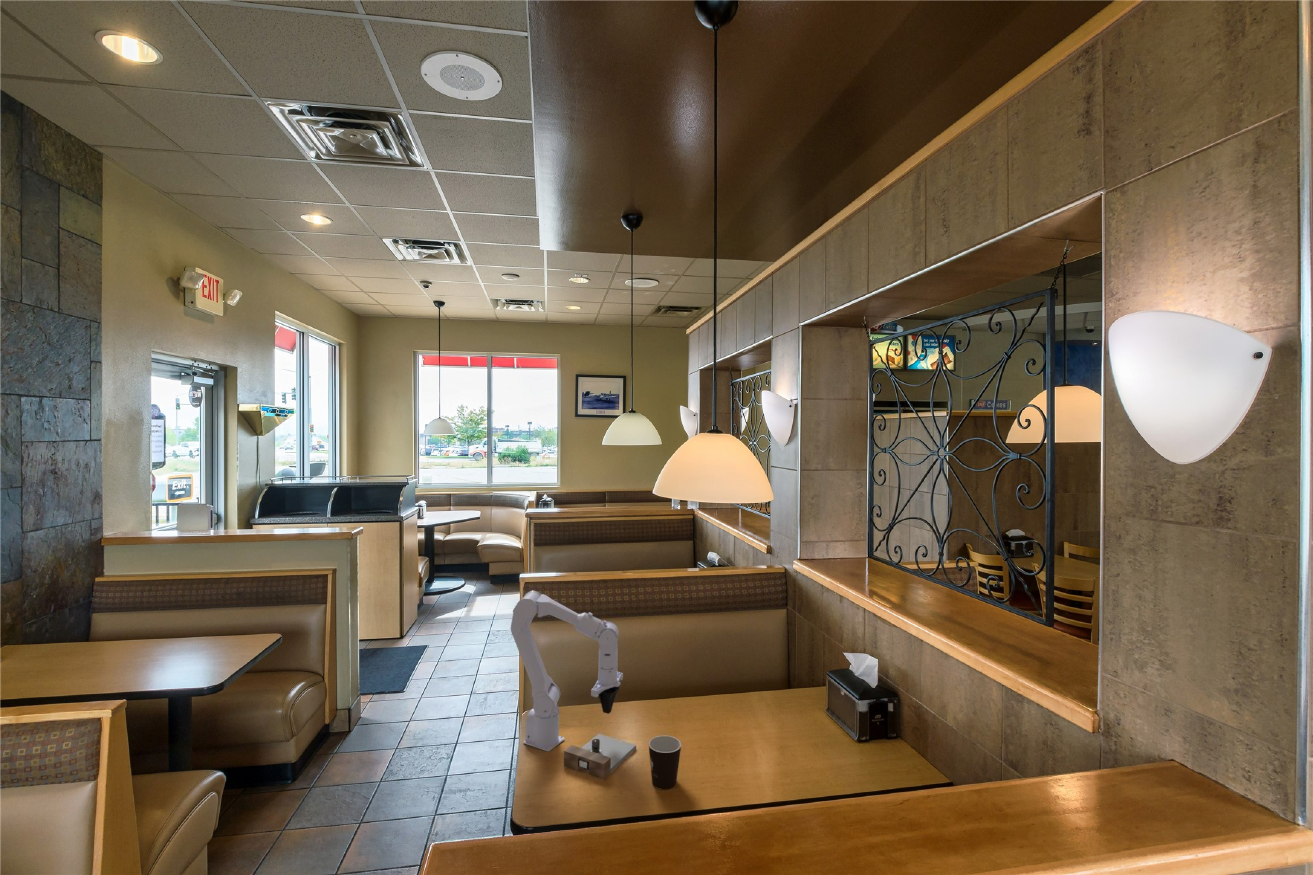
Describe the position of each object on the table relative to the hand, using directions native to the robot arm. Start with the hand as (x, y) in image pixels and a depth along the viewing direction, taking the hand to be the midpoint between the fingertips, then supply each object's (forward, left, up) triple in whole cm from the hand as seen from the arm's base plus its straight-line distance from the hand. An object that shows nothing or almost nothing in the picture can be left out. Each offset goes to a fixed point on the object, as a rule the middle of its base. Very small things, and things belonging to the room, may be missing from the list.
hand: (606, 712), depth 165 cm
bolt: (+2, -12, -8) cm, 15 cm away
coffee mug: (+23, -7, -10) cm, 26 cm away
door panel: (+3, -5, -9) cm, 11 cm away
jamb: (+3, -14, -9) cm, 17 cm away
